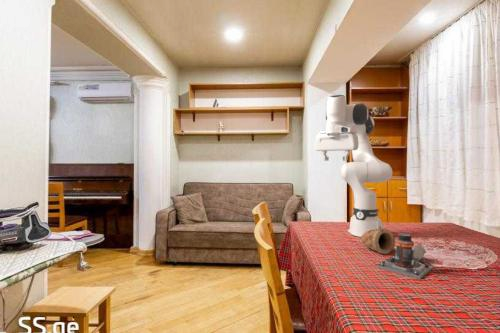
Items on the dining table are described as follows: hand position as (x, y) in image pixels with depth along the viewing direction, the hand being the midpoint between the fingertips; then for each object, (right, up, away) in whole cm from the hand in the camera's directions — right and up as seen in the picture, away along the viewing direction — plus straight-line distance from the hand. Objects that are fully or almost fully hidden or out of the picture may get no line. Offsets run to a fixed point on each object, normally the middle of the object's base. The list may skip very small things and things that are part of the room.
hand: (335, 160), depth 132 cm
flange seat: (+21, -40, -23) cm, 51 cm away
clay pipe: (+18, -40, -3) cm, 44 cm away
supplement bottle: (+17, -39, -27) cm, 50 cm away
